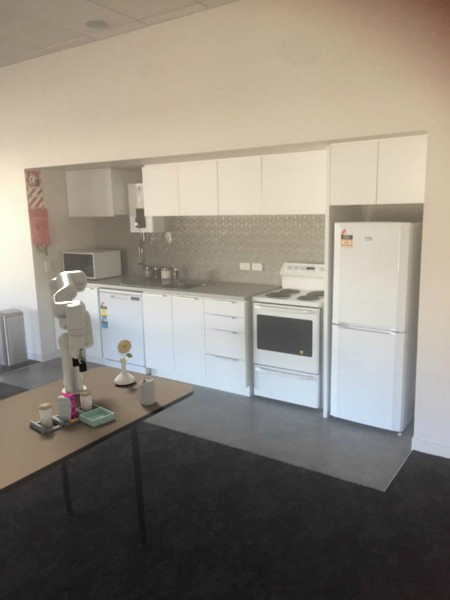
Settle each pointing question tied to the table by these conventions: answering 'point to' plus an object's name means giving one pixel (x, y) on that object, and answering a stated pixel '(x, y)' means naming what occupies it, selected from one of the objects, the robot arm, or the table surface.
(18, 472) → the table surface
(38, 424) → the clip holder
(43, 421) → the fuse
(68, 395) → the supplement box
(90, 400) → the cylinder
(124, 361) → the flower in vase
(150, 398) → the can
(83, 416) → the tray
